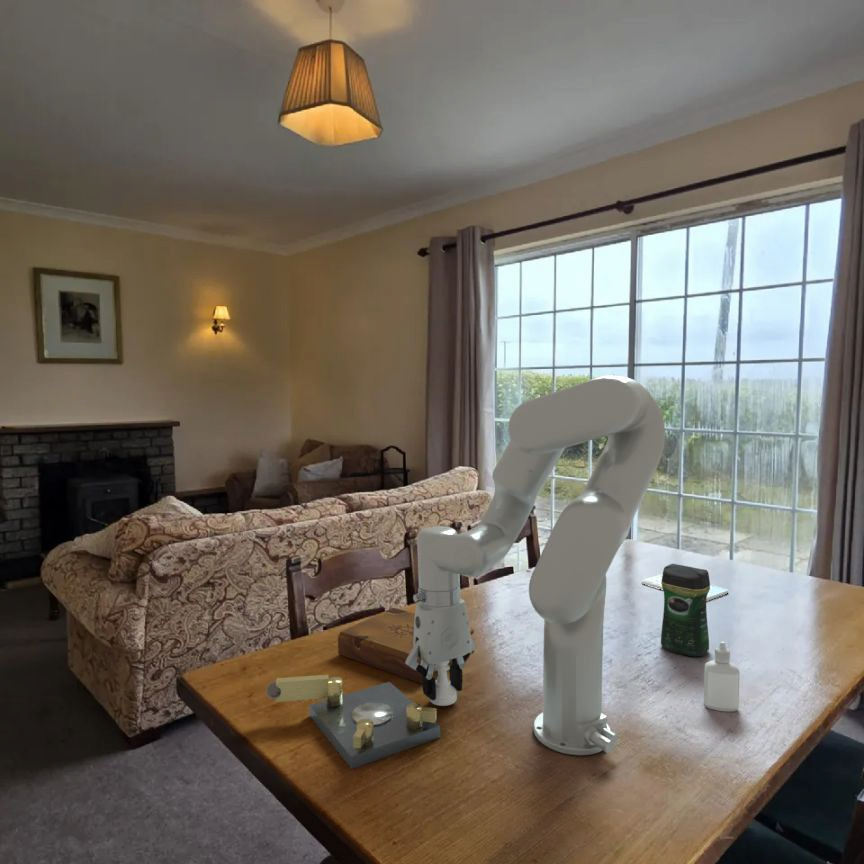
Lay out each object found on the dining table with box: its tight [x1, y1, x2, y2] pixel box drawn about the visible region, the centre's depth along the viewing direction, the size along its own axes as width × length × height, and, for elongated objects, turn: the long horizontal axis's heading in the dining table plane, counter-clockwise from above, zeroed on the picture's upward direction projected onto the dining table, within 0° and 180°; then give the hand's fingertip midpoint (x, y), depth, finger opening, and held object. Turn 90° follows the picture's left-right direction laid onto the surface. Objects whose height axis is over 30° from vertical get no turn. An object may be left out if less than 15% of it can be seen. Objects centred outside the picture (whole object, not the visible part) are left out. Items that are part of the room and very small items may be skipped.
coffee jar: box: [660, 563, 711, 658], centre depth 134 cm, size 10×8×19 cm
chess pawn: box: [429, 660, 458, 707], centre depth 112 cm, size 5×5×9 cm
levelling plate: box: [308, 681, 441, 770], centre depth 104 cm, size 18×16×5 cm
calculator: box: [641, 573, 729, 602], centre depth 175 cm, size 13×20×2 cm, turn 35°
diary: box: [337, 607, 475, 685], centre depth 133 cm, size 23×19×6 cm
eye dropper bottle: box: [703, 641, 740, 713], centre depth 110 cm, size 4×6×12 cm
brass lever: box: [265, 674, 344, 707], centre depth 107 cm, size 13×3×5 cm, turn 98°
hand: (443, 691), depth 112 cm, fingers closed on chess pawn, 5 cm apart
